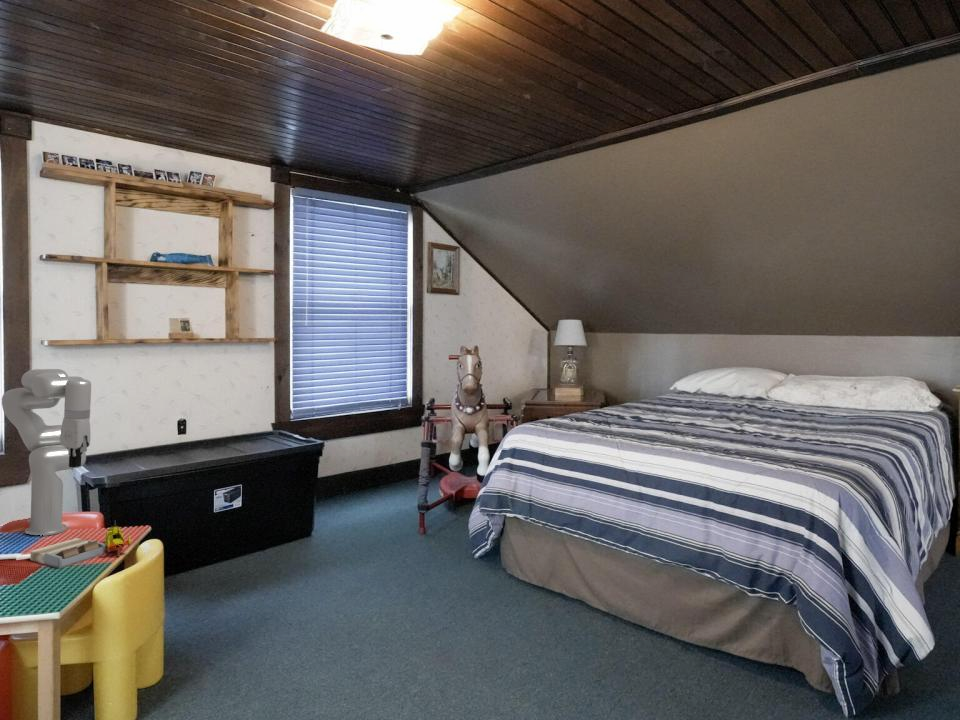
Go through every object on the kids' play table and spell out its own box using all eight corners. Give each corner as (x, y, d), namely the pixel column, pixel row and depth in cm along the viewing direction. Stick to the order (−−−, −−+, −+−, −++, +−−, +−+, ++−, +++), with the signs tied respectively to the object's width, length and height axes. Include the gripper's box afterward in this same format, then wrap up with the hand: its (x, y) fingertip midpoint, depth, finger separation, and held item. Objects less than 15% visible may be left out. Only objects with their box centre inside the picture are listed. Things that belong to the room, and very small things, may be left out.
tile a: (83, 544, 200) (85, 551, 200) (97, 540, 204) (99, 547, 204) (75, 548, 202) (77, 555, 201) (88, 544, 206) (91, 551, 205)
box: (44, 564, 194) (44, 553, 194) (90, 550, 208) (90, 540, 208) (59, 568, 191) (59, 557, 191) (104, 554, 205) (105, 543, 205)
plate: (30, 560, 197) (30, 550, 197) (76, 546, 211) (76, 537, 211) (44, 564, 194) (44, 554, 194) (90, 550, 208) (90, 541, 208)
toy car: (108, 559, 201) (109, 529, 200) (100, 543, 215) (100, 515, 214) (130, 556, 205) (131, 526, 205) (120, 540, 219) (121, 513, 218)
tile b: (62, 550, 193) (64, 557, 193) (76, 546, 198) (78, 553, 197) (54, 555, 195) (56, 562, 195) (68, 551, 199) (71, 558, 199)
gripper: (52, 413, 211) (50, 464, 212) (79, 418, 205) (77, 472, 206) (74, 411, 218) (72, 461, 219) (101, 416, 212) (99, 468, 212)
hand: (74, 466), depth 212 cm, fingers closed
